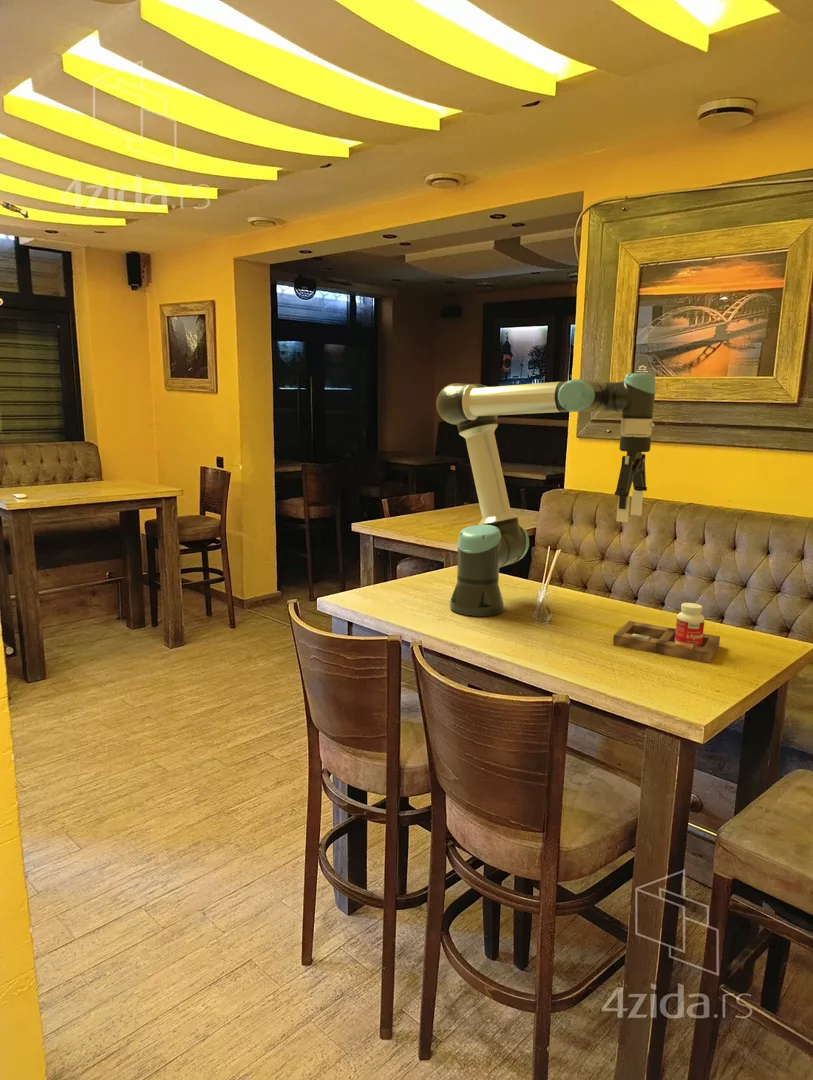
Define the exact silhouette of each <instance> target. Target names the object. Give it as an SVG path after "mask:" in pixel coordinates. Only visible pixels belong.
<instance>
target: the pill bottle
mask: <svg viewBox="0 0 813 1080" xmlns="http://www.w3.org/2000/svg"><path fill="white" fill-rule="evenodd" d="M702 612H703V606H702V605H701V604H699V603H693V602H682V603H681V605H680V612H679V613H678V614H677V615H676V624H675V629H676V632H675V642H676V641H678V642H683V643H689V644H694V646H699V647H702V640H703V634H704V631H705V630H704V629H705V616H704V615H702Z"/></svg>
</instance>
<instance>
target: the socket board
mask: <svg viewBox="0 0 813 1080" xmlns="http://www.w3.org/2000/svg"><path fill="white" fill-rule="evenodd" d="M675 632H676V628H674V627H667V626H661V625H655V624H651V623H643V622H638V621H631V620H628V621H626V623H625V624H623V626H622V627H620V629H619V630H617V631H616V632H615V633H614V634H613V639H612V640H613V641H612V642H613V643H612V645H613V646H617V647H624V648H629V649H633V650H639V651H644V652H649V653H655V654H659V655H664V656H670V657H674V658H675V657H676V658H681V659H686V660H691V661H696V662H702V663H707V664H710V663H711V662H712V661H713V657H714V656H715V655H716V652H717V651H718V650H719V647H720V641H721V635H720V636H719V635H714V634H708V633H703V640H702V647H699V646H694V644H689V643H683V642H678V641H676V642H675Z"/></svg>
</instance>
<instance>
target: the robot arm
mask: <svg viewBox="0 0 813 1080" xmlns="http://www.w3.org/2000/svg"><path fill="white" fill-rule="evenodd" d="M655 396H656V377H655V375H654V374H652V373H627V374H625V376H624V379H623V381H618V382H617V381H616V382H614V381H594V380H593V381H592V380H585V379H581V378H580V379H579V378H577V379H576V378H575V379H571V380H568V381H567V380H566V381H554V382H553V381H551V382H538V383H526V384H525V383H524V384H511V385H498V386H497V385H496V386H487V385H484V384H480V383H459V382H456V383H449V384H448V385H446V386H445V387H443V388H442V389H441V390H440V392H439V394H438V395H437V398H436V410H437V414H438V415H439V416H440V418H441V419H442V420H443V421H445V422H446V423H448V424H451V425H456V426H457V430H458V435H459V436H461V437H463V439H465V442H466V448H467V452H468V457H469V461H470V467H471V472H472V476H473V480H474V485H475V490H476V494H477V498H478V503H479V509H480V515H481V520H480V521H479V523H478V524H477V525H469V526H466V527H464V528H462V529H461V530H460V531H459V534H458V540H457V573H456V575H457V577H456V579H457V580H456V583H455V587H454V590H453V592H452V595H451V597H450V603H449V604H450V605H449V609H450V608H451V609H452V610H454V611H456V612H458V613H461V614H460V615H462V614H466V615H465V616H468V615H472V616H471V617H492V615H493V616H498V615H500V614H502V613H503V612H504V611H505V610H504V606H505V602H504V598H503V596H502V595H503V594H502V592H501V589H500V585H499V580H500V579H499V576H500V568H503V567H505V566H510V565H513V564H515V563H518V562H519V561H520V560H521V559H523V558H525V556H526V555H527V552H528V550H529V547H530V538H529V535H528V531H527V530H526V529H525V528H524V527H523V526H522V525H520V523H519V517H518V516H517V515H516V514H515V513H513V512H512V510H511V506H510V501H509V497H508V491H507V487H506V482H505V478H504V473H503V468H502V465H501V460H500V454H499V449H498V444H497V440H496V435H495V431H496V429H497V428H498V425H499V424H498V419H497V418H498V416H509V415H526V414H528V415H530V414H544V413H545V414H547V413H571V412H573V413H574V412H575V413H577V412H579V413H580V412H590V413H594V412H616V413H620V412H621V422H620V423H621V424H620V435H622V436H620V438H619V448H618V449H619V451H621V452H626V455H622V457H621V465H620V469H619V474H618V480H617V485H616V490H615V492H614V496H617V506H616V507H617V509H616V518H615V520H616V522H621V523H628V522H629V511H630V515H631V516H642V514H643V513H642V512H643V502H644V501H643V500H644V499H643V498H644V492H647V491H648V487H647V480H646V453H648V452H650V451H651V445H652V438H651V437H650V436H651V434H652V430H653V429H652V428H653V427H655V423H654V422H653V419H654V417H653V416H654V407H655V406H654V405H655ZM632 487H633V490H631V488H632ZM630 491H632V492H631V496H630ZM630 498H631V499H630ZM630 501H631V505H630ZM451 609H450V610H451ZM452 610H451V611H452ZM454 611H453V612H454ZM456 612H455V613H456ZM458 613H457V614H458ZM497 614H498V615H497Z"/></svg>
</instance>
